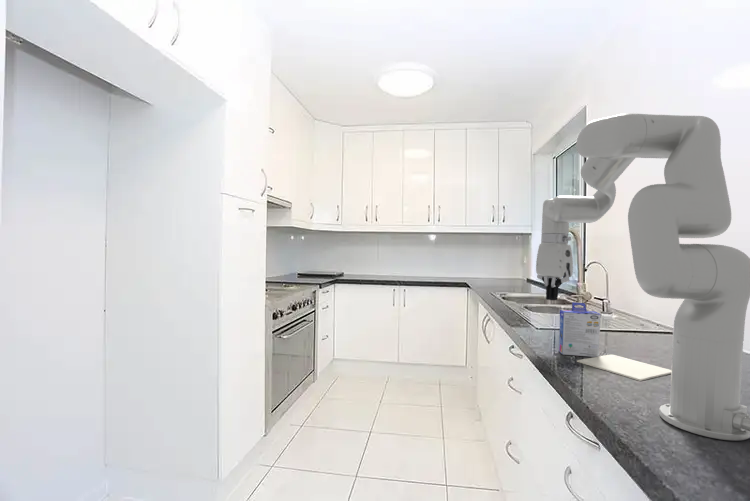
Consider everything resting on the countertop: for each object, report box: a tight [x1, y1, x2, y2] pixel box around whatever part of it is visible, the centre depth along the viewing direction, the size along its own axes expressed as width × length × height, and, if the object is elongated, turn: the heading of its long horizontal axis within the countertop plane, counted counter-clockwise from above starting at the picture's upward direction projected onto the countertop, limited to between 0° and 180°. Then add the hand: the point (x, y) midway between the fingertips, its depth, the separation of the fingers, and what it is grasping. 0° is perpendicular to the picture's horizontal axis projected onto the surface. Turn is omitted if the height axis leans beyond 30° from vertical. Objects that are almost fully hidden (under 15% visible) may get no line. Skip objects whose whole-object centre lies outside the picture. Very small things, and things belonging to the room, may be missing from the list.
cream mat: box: [576, 354, 671, 382], centre depth 104 cm, size 16×15×1 cm
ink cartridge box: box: [558, 301, 602, 358], centre depth 115 cm, size 10×6×14 cm, turn 78°
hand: (551, 299), depth 124 cm, fingers closed
